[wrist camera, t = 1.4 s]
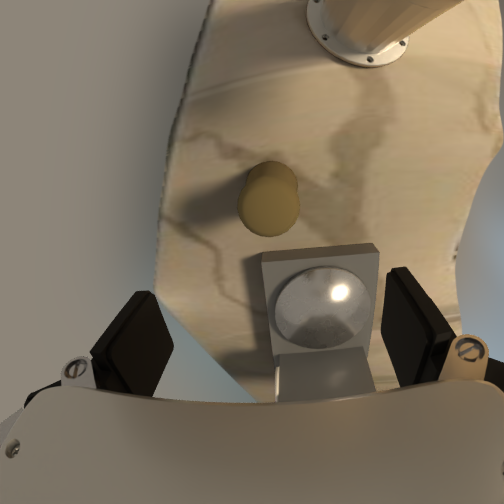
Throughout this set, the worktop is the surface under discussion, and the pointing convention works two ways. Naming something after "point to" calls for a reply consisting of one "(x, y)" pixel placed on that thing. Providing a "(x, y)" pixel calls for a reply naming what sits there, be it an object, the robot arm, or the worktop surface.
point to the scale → (329, 359)
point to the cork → (269, 199)
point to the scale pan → (322, 307)
